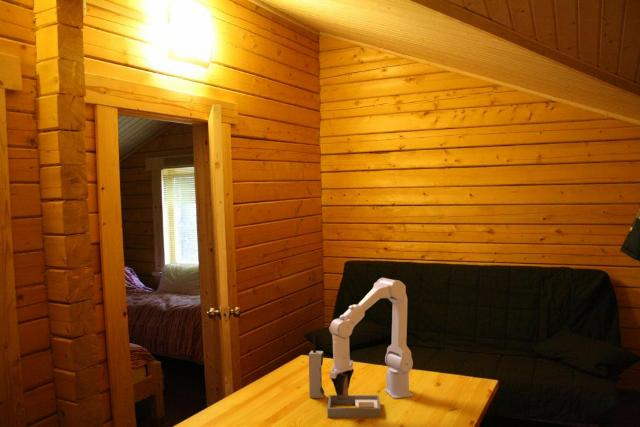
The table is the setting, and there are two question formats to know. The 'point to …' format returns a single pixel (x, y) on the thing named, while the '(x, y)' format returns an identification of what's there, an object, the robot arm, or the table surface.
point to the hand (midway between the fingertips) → (342, 392)
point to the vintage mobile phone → (315, 372)
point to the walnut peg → (344, 389)
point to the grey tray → (359, 402)
